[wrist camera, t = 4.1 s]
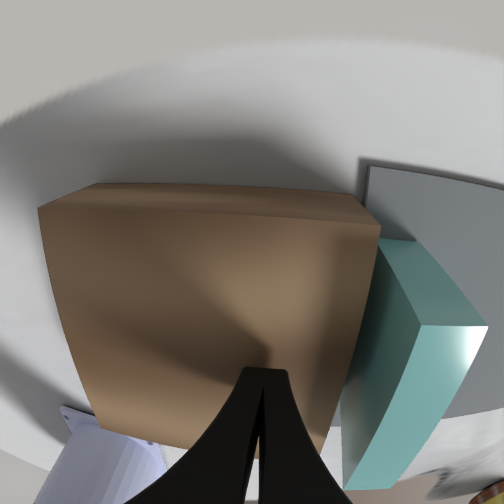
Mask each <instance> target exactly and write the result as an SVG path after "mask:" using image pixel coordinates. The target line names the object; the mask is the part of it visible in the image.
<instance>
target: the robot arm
mask: <svg viewBox="0 0 504 504" xmlns="http://www.w3.org/2000/svg"><path fill="white" fill-rule="evenodd" d="M59 411H60V413H61V415H62V417H63V419H64V421H65V423H66V425H67V426H68V428H69V430H70V432H71V434H72V435H71V436H70V438H69V440H68V441H67V443H66V445H65V447H64V448H63V450H62V452H61V454H60V455H59V457H58V459H57V461H56V462H55V464H54V466H53V468H52V470H51V471H50V473H49V475H48V477H47V479H46V481H45V482H44V484H43V486H42V488H41V490H40V492H39V494H38V495H37V498H36V499H35V501H34V503H33V504H244V501H245V496H246V491H247V487H248V483H249V478H250V474H251V470H252V465H253V461H254V456H255V452H256V447H257V443H258V438H259V498H258V504H353V503H352V502H351V501H350V500H349V498H348V497H347V496H346V495H345V493H344V492H343V491H342V489H341V488H340V487H339V485H338V484H337V483H336V481H335V480H334V478H333V477H332V475H331V474H330V472H329V470H328V469H327V467H326V466H325V464H324V462H323V461H322V459H321V457H320V455H319V454H318V452H317V450H316V448H315V446H314V444H313V442H312V440H311V438H310V436H309V434H308V432H307V430H306V427H305V425H304V423H303V420H302V418H301V415H300V413H299V410H298V408H297V405H296V402H295V399H294V396H293V393H292V389H291V385H290V381H289V375H288V372H287V371H286V370H285V369H273V368H260V367H249V366H246V367H244V368H242V371H241V374H240V376H239V378H238V380H237V383H236V385H235V386H234V388H233V390H232V392H231V394H230V395H229V397H228V399H227V400H226V402H225V404H224V405H223V407H222V408H221V410H220V411H219V413H218V414H217V416H216V417H215V419H214V420H213V421H212V422H211V424H210V425H209V426H208V428H207V429H206V430H205V432H204V433H203V434H202V435H201V437H200V438H199V439H198V440H197V441H196V442H195V444H194V445H193V446H192V447H191V448H190V449H189V450H188V451H187V452H186V453H185V454H184V455H183V456H182V457H181V458H180V459H179V460H178V461H177V462H176V463H175V464H174V465H173V466H172V467H171V468H170V469H169V470H167V467H166V464H165V461H164V458H163V455H162V452H161V449H160V446H159V444H158V443H154V442H149V441H145V440H141V439H137V438H133V437H129V436H126V435H122V434H119V433H115V432H112V431H108V430H105V429H102V428H101V427H100V425H99V423H98V421H97V419H96V417H95V416H92V415H89V414H86V413H83V412H80V411H77V410H74V409H71V408H68V407H66V406H61V407H60V409H59Z"/></svg>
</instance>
